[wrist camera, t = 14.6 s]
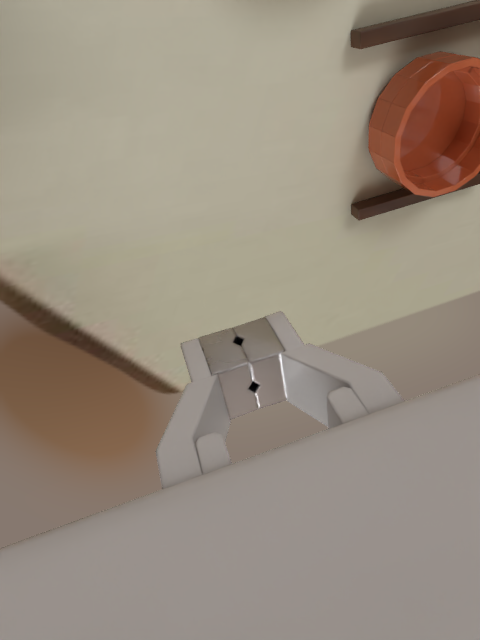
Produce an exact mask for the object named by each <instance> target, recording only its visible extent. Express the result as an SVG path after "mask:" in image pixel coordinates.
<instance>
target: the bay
mask: <svg viewBox="0 0 480 640" xmlns="http://www.w3.org/2000/svg"><path fill="white" fill-rule="evenodd" d="M476 20H480V0H475V1H471V2H467V3H463V4H458V5H454V6H450V7H446V8H442V9H438V10H434V11H429V12H425V13H421V14H417V15H413V16H409V17H405V18H400V19H396V20H392V21H388V22H384V23H380V24H375V25H371V26H367V27H363V28H359V29H355V30H352V31H351V47H353V48H358V49H363V48H367V47H371V46H375V45H379V44H383V43H387V42H391V41H395V40H399V39H403V38H407V37H411V36H415V35H419V34H423V33H427V32H431V31H435V30H439V29H444V28H448V27H452V26H456V25H460V24H464V23H468V22H472V21H476ZM478 184H480V171H479V173H478V174H477V175H476V176H475V177H474V178H472V179H471V180H469V181H468V182H467V183H465V184H464V185H462V186H461V187H460V188H458V189H457V190H455V191H458V190H461V189H464V188H468V187H471V186H474V185H478ZM452 192H454V191H452ZM449 193H451V192H449ZM446 194H448V193H446ZM442 195H445V194H442ZM439 196H441V195H439ZM436 197H438V196H436ZM431 198H435V197H429V196H422V195H415V194H413V193H412V192H410V191H408V190H407V189H401V190H398V191H394V192H391V193H388V194H384V195H381V196H378V197H374V198H371V199H368V200H364V201H361V202H357V203H354V204H351V214H352V215H353V216H354V217H355V218H356V219H358V220H362V219H365V218H369V217H372V216H375V215H378V214H382V213H385V212H388V211H392V210H395V209H398V208H402V207H405V206H408V205H411V204H415V203H418V202H421V201H425V200H428V199H431Z"/></svg>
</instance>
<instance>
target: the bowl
mask: <svg viewBox="0 0 480 640" xmlns="http://www.w3.org/2000/svg"><path fill="white" fill-rule="evenodd" d="M368 148H369V152H370V154H371V157H372V159H373V162H374V164H375V167H376V169H378V170H379V171H380V172H381V173H383V174H384V175H385V176H386V177H388V178H389V179H390V180H392V181H394V182H395V183H397V184H399V185H400V186H402V187H403V188H405V189H407V190H408V191H410V192H412V193H413V194H415V195H422V196H429V197H436V196H439V195H442V194H446V193H449V192H452V191H455V190H457V189H458V188H460V187H461V186H462V185H464V184H465V183H467V182H468V181H469V180H471V179H472V178H474V177H475V176H476V175H477V174H478V173H479V171H480V59H479V58H475V57H470V56H464V55H458V54H452V53H447V52H441V51H440V52H436V53H432V54H428V55H424V56H421V57H417V58H416V59H414V60H413V61H412V62H410V63H409V64H408V65H406V66H405V67H404V68H403V69H401V70H400V71H399V72H397V73H396V74H395V75H394V76H393V78H392V79H391V80H390V82H389V83H388V85H387V86H386V88H385V89H384V90H383V92H382V93H381V95H380V96H379V97H378V99H377V102H376V105H375V108H374V111H373V114H372V117H371V120H370V122H369V147H368Z"/></svg>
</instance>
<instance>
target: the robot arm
mask: <svg viewBox="0 0 480 640" xmlns="http://www.w3.org/2000/svg"><path fill="white" fill-rule="evenodd" d="M181 349H182V352H183V355H184V359H185V362H186V365H187V369H188V372H189V375H190V379H191V382H192V383H189V384H187V385H186V387H185V389H184V391H183V394H182V396H181V398H180V400H179V402H178V405H177V407H176V409H175V411H174V413H173V415H172V418H171V419H170V422H169V424H168V426H167V428H166V430H165V433H164V434H163V436H162V439H161V441H160V443H159V445H158V447H157V449H156V456H157V462H158V467H159V473H160V478H161V484H162V490H159V491H156V492H154V493H151V494H148V495H145V496H143V497H140V498H137V499H134V500H132V501H129V502H126V503H124V504H121V505H118V506H115V507H112V508H110V509H107V510H104V511H101V512H99V513H96V514H93V515H90V516H88V517H85V518H82V519H79V520H77V521H74V522H71V523H68V524H66V525H63V526H60V527H57V528H55V529H52V530H49V531H46V532H44V533H41V534H38V535H36V536H33V537H30V538H27V539H24V540H22V541H19V542H16V543H13V544H11V545H8V546H5V547H2V548H0V640H480V374H478V375H475V376H473V377H470V378H467V379H464V380H462V381H459V382H456V383H453V384H451V385H448V386H445V387H443V388H440V389H437V390H434V391H431V392H429V393H426V394H423V395H420V396H418V397H415V398H412V399H409V400H407V401H405V400H404V399H403V398H402V396H401V395H400V394H399V393H398V391H397V390H396V389H395V388H394V387H393V385H392V384H391V383H390V382H389V380H388V379H387V378H386V377H385V375H384V374H383V373H382V372H380V371H378V370H375V369H373V368H370V367H368V366H365V365H363V364H360V363H358V362H355V361H353V360H350V359H348V358H345V357H342V356H340V355H338V354H335V353H332V352H330V351H327V350H325V349H322V348H320V347H317V346H315V345H312V344H310V343H309V344H306V345H304V343H303V342H302V340H301V339H300V337H299V336H298V334H297V333H296V331H295V330H294V328H293V327H292V325H291V323H290V322H289V320H288V319H287V317H286V316H285V314H284V313H283V312H282V311H279V312H276V313H273V314H270V315H267V316H265V317H263V318H260V319H257V320H254V321H251V322H248V323H245V324H242V325H238V326H235V327H232V328H229V329H225V330H222V331H219V332H215V333H212V334H209V335H205V336H202V337H199V338H196V339H193V340H189V341H186V342H183V343H181ZM285 400H287V401H288V402H290V403H291V404H293V405H294V406H296V407H298V408H299V409H301V410H302V411H304V412H305V413H307V414H309V415H310V416H312V417H313V418H315V419H316V420H318V421H320V422H321V423H323V424H324V425H326V426H328V429H327V430H324V431H321V432H318V433H316V434H313V435H310V436H307V437H305V438H302V439H299V440H296V441H294V442H291V443H288V444H285V445H283V446H280V447H277V448H274V449H272V450H269V451H266V452H264V453H261V454H258V455H255V456H253V457H250V458H247V459H244V460H242V461H239V462H236V463H234V464H232V462H231V459H230V456H229V453H228V450H227V448H226V445H225V441H226V437H227V434H228V430H229V426H230V420H231V419H233V418H236V417H239V416H241V415H244V414H247V413H249V412H252V411H254V410H257V409H260V408H263V407H266V406H269V405H273V404H276V403H279V402H282V401H285Z"/></svg>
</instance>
